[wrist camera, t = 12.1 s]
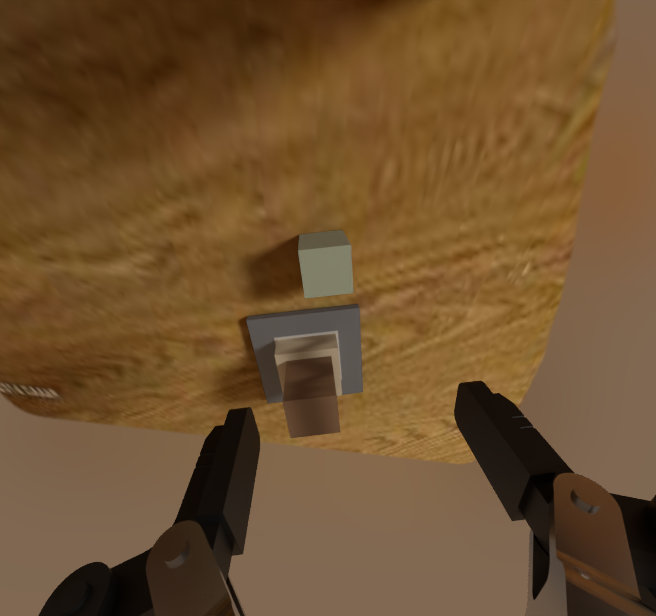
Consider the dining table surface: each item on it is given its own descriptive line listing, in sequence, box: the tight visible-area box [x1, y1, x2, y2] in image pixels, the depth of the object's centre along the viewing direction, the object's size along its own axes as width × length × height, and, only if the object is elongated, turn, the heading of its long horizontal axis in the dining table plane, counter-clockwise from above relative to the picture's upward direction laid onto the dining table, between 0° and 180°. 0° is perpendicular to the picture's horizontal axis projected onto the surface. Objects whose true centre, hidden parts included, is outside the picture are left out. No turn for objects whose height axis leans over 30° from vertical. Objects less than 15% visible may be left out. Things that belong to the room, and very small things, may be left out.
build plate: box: [246, 304, 363, 403], centre depth 35 cm, size 13×13×1 cm
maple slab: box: [275, 333, 342, 396], centre depth 34 cm, size 7×7×3 cm
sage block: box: [298, 230, 353, 298], centre depth 27 cm, size 4×4×6 cm
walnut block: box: [283, 356, 340, 438], centre depth 30 cm, size 5×5×6 cm
